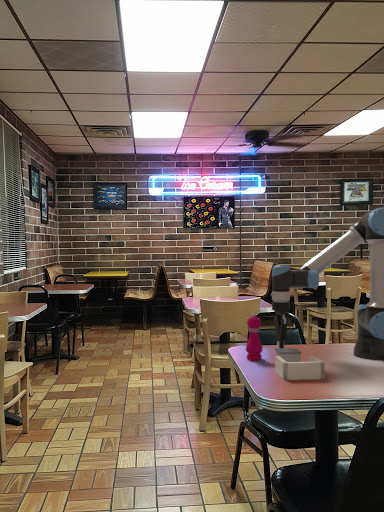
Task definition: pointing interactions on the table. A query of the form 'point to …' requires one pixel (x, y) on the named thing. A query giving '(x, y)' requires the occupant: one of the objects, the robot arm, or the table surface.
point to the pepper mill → (254, 339)
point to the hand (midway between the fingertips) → (280, 356)
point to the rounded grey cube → (288, 354)
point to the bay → (300, 369)
